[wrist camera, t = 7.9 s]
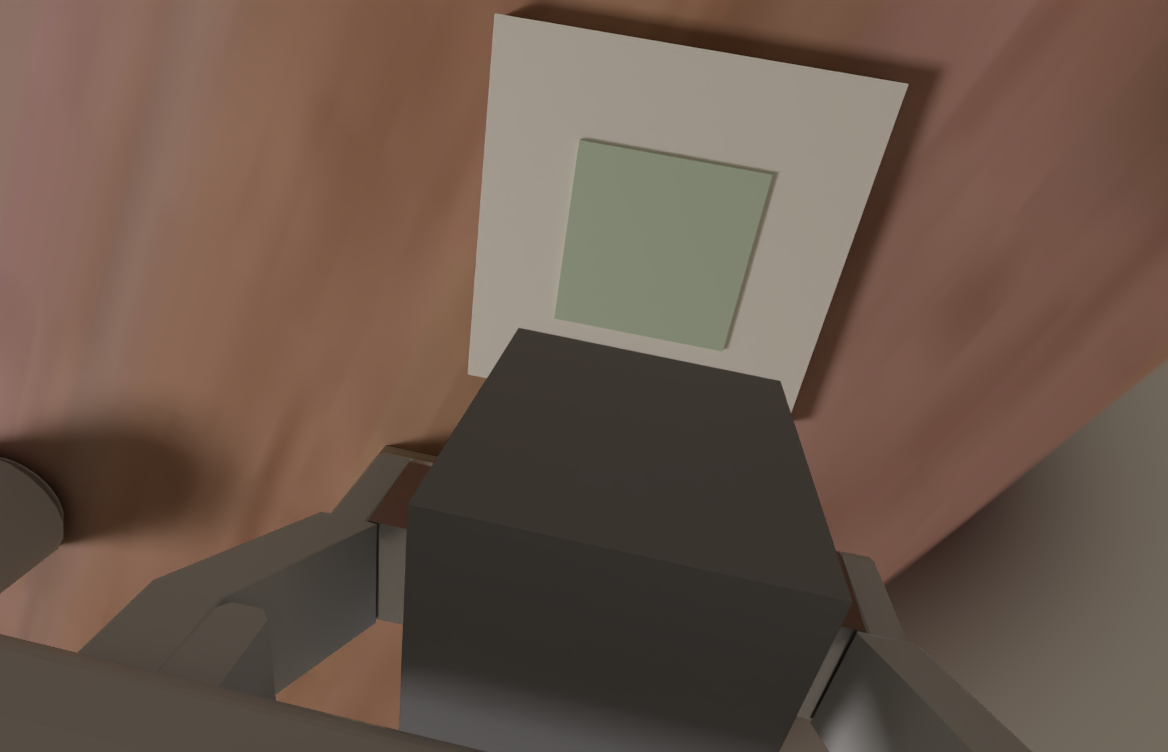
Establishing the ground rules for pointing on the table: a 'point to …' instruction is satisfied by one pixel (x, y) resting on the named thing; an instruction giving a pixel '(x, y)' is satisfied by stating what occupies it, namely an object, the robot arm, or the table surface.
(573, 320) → the build board
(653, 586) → the grey block
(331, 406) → the table surface
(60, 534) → the can
